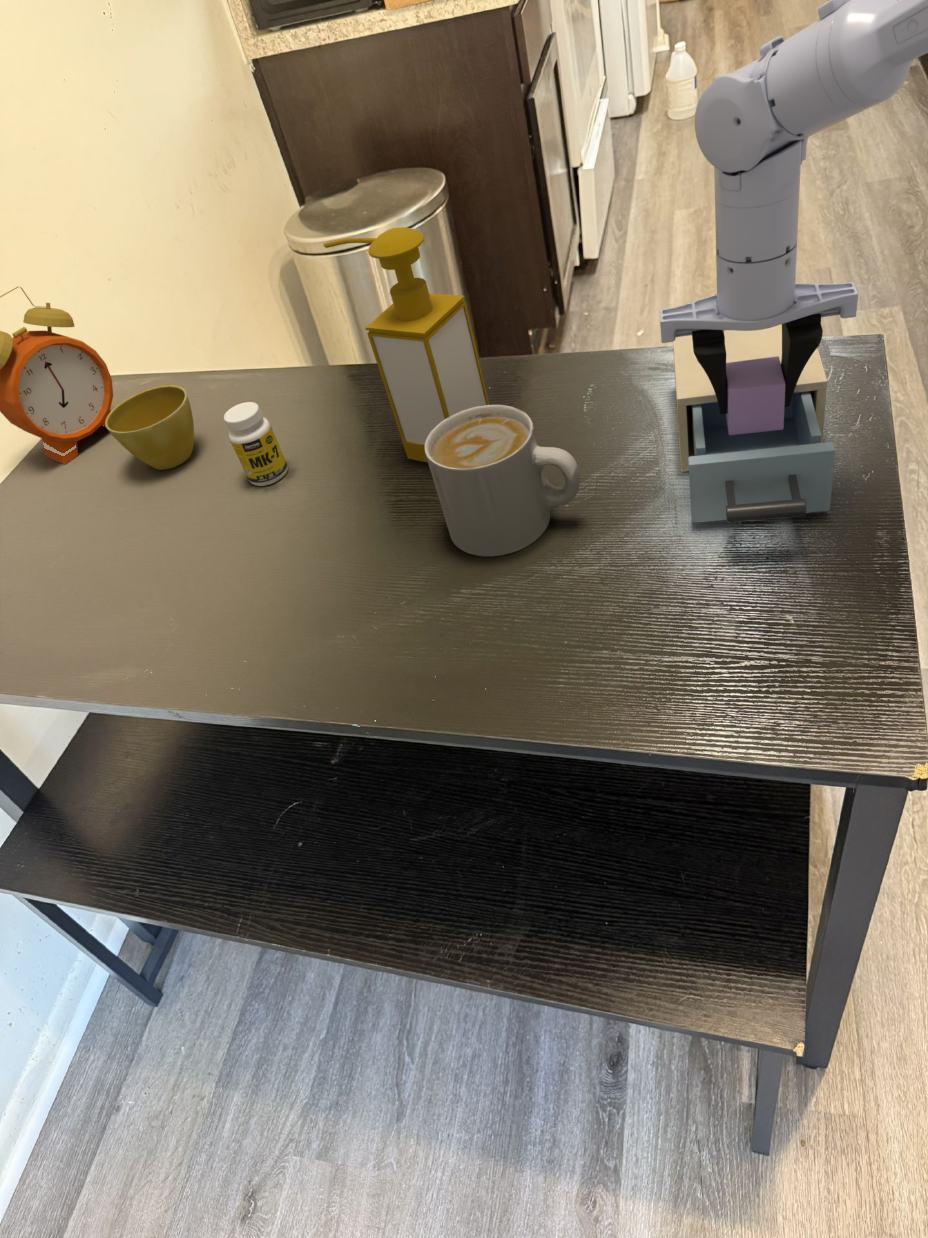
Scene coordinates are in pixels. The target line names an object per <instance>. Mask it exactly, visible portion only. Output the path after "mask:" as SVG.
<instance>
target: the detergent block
mask: <svg viewBox="0 0 928 1238" xmlns="http://www.w3.org/2000/svg"><path fill="white" fill-rule="evenodd" d="M726 389H727V398H728V414H726V418H727V426H728V433H729V435H737V434H747V433H756V432H765V431H774V430H783V428H784V405H785V381H784V376H783V372H782V367H781V363H780V359H779V356H776V357H768V358H761V359H753V360H745V361H737V362H729V363H726Z"/></svg>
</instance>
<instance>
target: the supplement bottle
mask: <svg viewBox="0 0 928 1238" xmlns="http://www.w3.org/2000/svg"><path fill="white" fill-rule="evenodd" d="M223 420H224V423H225V425H226V428H227V429H228V440H229V442H230V444H231V446H232V448H233V450H234V453H235V455H236V457H237V458H238V461H239V463H240V465H241V467H242V470H243V471H244V473H245V475H246V477H247V480H248V482H250V484H251V485H254V486H258V487H264V486H265V487H266V486H269V485H272V484H274V483H277V482H278V481H280V480H281V479H282V478H284V476H285V475H286V474H287V473H288V470H289V466H288V462H287V460H286V458H285V455H284V453H283V451H282V448H281V445H280V443H279V441H278V439H277V437H276V434H275V432H274V430H273V428H272V427H273V426H272V424H271V423H270V421H269V420H268V419H267V418H266V417H264V415H263V412H262V410H261V408H260V405H259V404H258V403H256V402H254V401H246V402H241V403H238V404H236V405H234V406H232V407H231V408H229V409H228V410H227V411H226V412H225V413H224V415H223Z"/></svg>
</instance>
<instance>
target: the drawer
mask: <svg viewBox="0 0 928 1238" xmlns="http://www.w3.org/2000/svg"><path fill="white" fill-rule="evenodd" d="M691 415H692V434H693V446H694V456H690V457H688V464H689V471H688V481H689V482H688V483H689V499H690V518H691V523H701V522H712V521H724V520H726V523H727V524H729V523H741V522H753V521H754V522H755V521H767V520H777V519H787V518H788V519H789V518H802V517H806V516H807V514H808V513H820V512H829V511H831V502H832V492H833V482H834V469H835V460H836V459H835V458H836V447H835V444H834V443H835V442H834V441H826V442H825V441H824V442H823V443H821V432H820V429H819V425H818V421H817V417H816V413H815V409H814V406H813V402H812V398H811V394H810V391H805V392H797V393H793V396H792V400H791V405H790V406H789V407H784V428H783V430H774V431H765V432H756V433H747V434H737V435H729V433H728V426H727V418H726V414H719V406H718V402H712V403H703V404H695V405H691Z"/></svg>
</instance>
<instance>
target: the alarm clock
mask: <svg viewBox="0 0 928 1238" xmlns="http://www.w3.org/2000/svg"><path fill="white" fill-rule="evenodd" d="M18 288H20V289H21V291H22V293H23V294H24V295H25V298H27V300H28V301H29V302H30V304H31V306H33V307H31V308H29V309H27V311H26V312H25V313H24V316H23V319H22V321H23V323H24V324H26V325H32V326H39V327H46V328H47V330H28V329H27V327H26V326H23V327H21V328H19V329H18V330H16V331H14V332H13V333H11V334H9V333H8V332H5V331H3V330H0V413H1V415H3V417H4V418H5V419H6V420H7V421H8V422H9V423H10V424H11V425H13V426H15V427H17V428H19V429H21V430H22V431H24V432H26V433H28V434H31V435H33V436H35V437H37V438H39V439H41V441H42V443H43V442H44V443H46V444H47V445H49V446H50V447H53V448H54V449H56V450H57V451H59V452H61V453H65V452H66V451H68V450H69V449H71V448H72V447H74V446H75V445H77V446H78V442H79V441H80V440H84V438H87V437H89V436H91V435H93V433H95V432H96V431H97V430H98V429H99V428H100V427H102V428H105V429H107V428H106V426H105V421H106V418H107V416H108V415H109V413H110V412H111V411H112V410H111V408H112V403H113V399H114V387H113V377H112V376H111V373H110V371H109V368H108V365H107V363H106V362H105V361H104V360H103V358H102V356H100V354H99V353H98V352H97V350H95V349H94V348H93V347H92V346H90V345H88V344H87V343H85V342H84V341H83V340H80V339H76V338H73V337H70V336H67V335H63V334H60V333H56V332H53V330H52V329H53V328H75V322H74V318H73V316H71V314H70V313H69V312H67V311H65V310H63V309H61V308H55V307H54V308H53V307H51V302H45V306H41V305H40V306H39V305H38V306H37V305H34V303H33V302H32V300H31V299H30V297H29V296H28V295H27V293H26V291H24V289H23V288H22V287H21V286H16V287H14V288H12V289H11V290H9V291H7V292H5V293H3V294H1V295H0V298H2V297H4V296H6V295H7V294H9V293H11V292H13V291H15V290H17V289H18ZM103 425H104V426H103ZM78 452H79V451H78V447H77V448H75V449H74V450H72V451H71V452H69V453H68V454H66V455H65V456H61V455H59V454H57V453H54V452H52V451H50V450H47V449H45V448H43V453H44V454H43V455H44V457H47V458H49V459H52V460H53V461H56V462H59V463H61V464H63V465H66V464H67V463H69V462H71V461H72V460H74V459H75V458H77V457H78V456H79V453H78Z"/></svg>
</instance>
